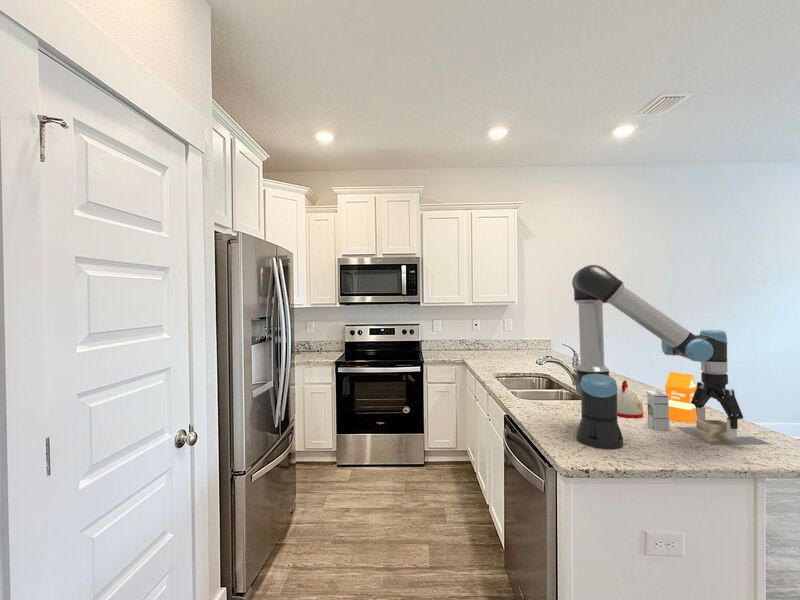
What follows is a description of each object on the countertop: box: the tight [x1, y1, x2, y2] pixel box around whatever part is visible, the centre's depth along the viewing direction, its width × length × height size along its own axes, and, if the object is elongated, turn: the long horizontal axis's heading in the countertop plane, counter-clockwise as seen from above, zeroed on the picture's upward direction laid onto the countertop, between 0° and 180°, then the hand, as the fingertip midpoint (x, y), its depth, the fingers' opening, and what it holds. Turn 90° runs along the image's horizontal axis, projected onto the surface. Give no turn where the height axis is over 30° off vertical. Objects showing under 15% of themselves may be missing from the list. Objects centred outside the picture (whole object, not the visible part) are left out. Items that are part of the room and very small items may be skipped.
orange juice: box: [664, 371, 697, 424], centre depth 164 cm, size 8×9×20 cm
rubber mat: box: [673, 426, 772, 446], centre depth 144 cm, size 21×19×1 cm
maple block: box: [695, 419, 735, 442], centre depth 140 cm, size 9×6×6 cm, turn 90°
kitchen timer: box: [617, 379, 644, 419], centre depth 174 cm, size 14×14×15 cm
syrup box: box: [646, 390, 671, 431], centre depth 153 cm, size 6×6×14 cm
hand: (715, 431), depth 140 cm, fingers open, 13 cm apart
